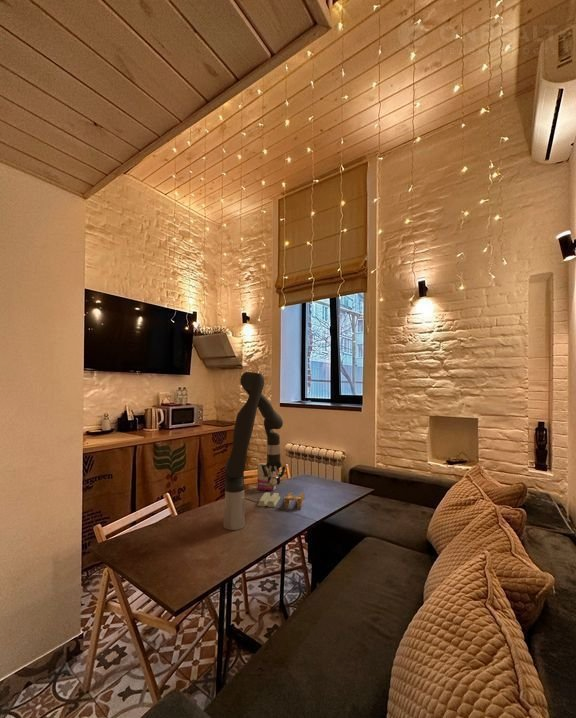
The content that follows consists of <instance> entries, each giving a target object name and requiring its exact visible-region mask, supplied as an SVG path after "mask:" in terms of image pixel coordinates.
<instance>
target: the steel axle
mask: <svg viewBox="0 0 576 718" xmlns="http://www.w3.org/2000/svg"><path fill="white" fill-rule="evenodd" d="M281 472H282V471H280V474H281ZM282 479H283V476H282V477H280V480H282ZM269 484H270V485H271V486H275V485H276V486H277V474H275V475H274V476H273V477H272V478H271V479H270V481H269Z"/></svg>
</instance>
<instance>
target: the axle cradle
mask: <svg viewBox="0 0 576 718" xmlns="http://www.w3.org/2000/svg"><path fill="white" fill-rule="evenodd" d="M280 499H281V496H280V494H279V493H278V492H274V493H273V494H271V492H264V493H263V495H262V496H261V497H260V498H259V501H258V503H257V507H265V506H268V507H267V508H269V507H270V508H276V506H277V505H278V503H279V501H280Z"/></svg>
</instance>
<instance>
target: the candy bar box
mask: <svg viewBox="0 0 576 718" xmlns="http://www.w3.org/2000/svg"><path fill="white" fill-rule="evenodd" d="M265 464H267V462H259V463H257V490H258V491H266V490H269V491H268V492H275V490H276V489H277V484H276V485H275V486H271V485H270V484H269V483H268V477H267V476H264V473H263V469H262V465H265ZM266 470H267V473H268V471H269V469H268V467H267V466H266ZM275 474H276V472H274V471H273V472H272V473H271V478H272V477H273V476H274V475H275Z"/></svg>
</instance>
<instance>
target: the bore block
mask: <svg viewBox="0 0 576 718" xmlns="http://www.w3.org/2000/svg"><path fill="white" fill-rule="evenodd" d="M292 501H295V502H296V510H302V508H301V507H303V505H304V502H305V492H300V495H298V496H297V495H293V492H288V494H287V495H284V498H283V503H284V504H283V509H286V508H287V509H289V507H290V505H291V503H292Z"/></svg>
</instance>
